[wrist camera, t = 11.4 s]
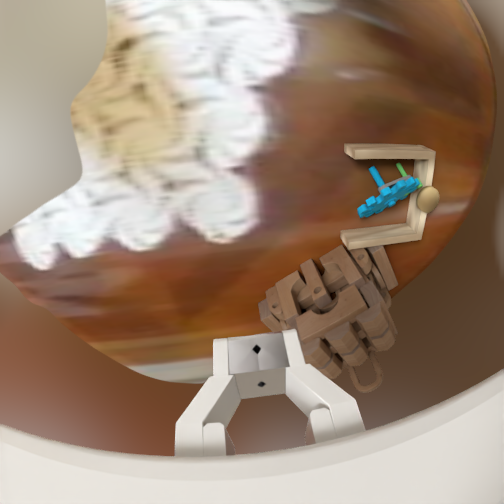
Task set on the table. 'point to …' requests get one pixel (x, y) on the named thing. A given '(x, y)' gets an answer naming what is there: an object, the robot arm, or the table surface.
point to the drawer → (419, 199)
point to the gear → (388, 192)
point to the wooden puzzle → (337, 311)
